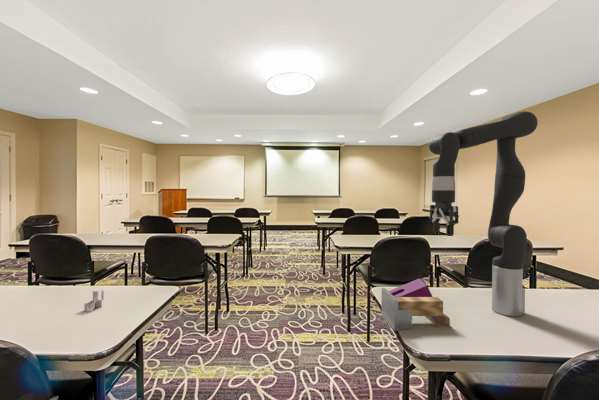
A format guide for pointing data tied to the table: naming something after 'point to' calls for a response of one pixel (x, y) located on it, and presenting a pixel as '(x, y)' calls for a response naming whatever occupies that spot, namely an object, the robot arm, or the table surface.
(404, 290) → the mounting bracket
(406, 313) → the bracket
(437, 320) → the rest block
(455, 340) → the table surface
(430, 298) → the rail
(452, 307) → the table surface
